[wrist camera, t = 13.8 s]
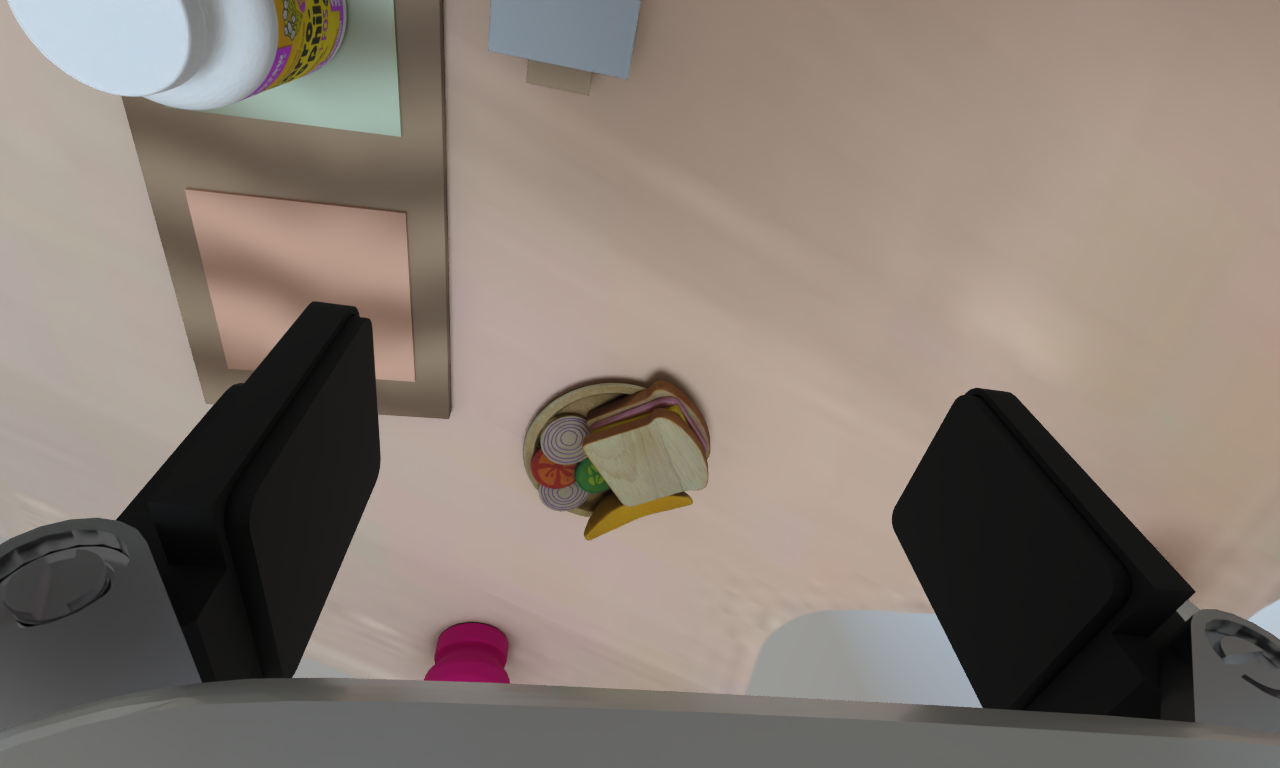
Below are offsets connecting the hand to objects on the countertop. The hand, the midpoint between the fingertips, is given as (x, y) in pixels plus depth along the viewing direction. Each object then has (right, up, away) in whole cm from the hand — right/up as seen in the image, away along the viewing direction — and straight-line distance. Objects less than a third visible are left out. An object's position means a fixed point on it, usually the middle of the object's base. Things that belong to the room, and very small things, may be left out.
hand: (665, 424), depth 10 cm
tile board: (-18, +13, +24) cm, 32 cm away
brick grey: (-4, +17, +19) cm, 26 cm away
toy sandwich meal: (-2, -3, +36) cm, 37 cm away
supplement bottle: (-17, +18, +19) cm, 31 cm away
